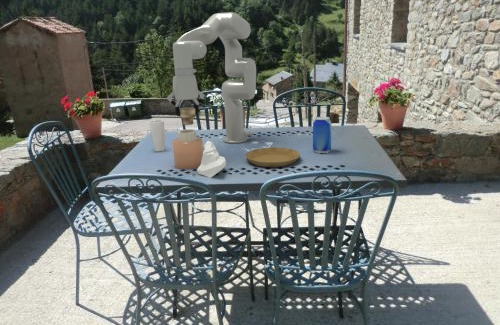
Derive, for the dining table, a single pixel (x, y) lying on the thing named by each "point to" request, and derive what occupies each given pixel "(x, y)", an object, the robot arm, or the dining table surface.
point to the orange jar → (187, 149)
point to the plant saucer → (272, 156)
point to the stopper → (187, 115)
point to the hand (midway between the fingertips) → (187, 114)
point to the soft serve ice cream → (211, 161)
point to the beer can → (322, 135)
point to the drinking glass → (158, 134)
